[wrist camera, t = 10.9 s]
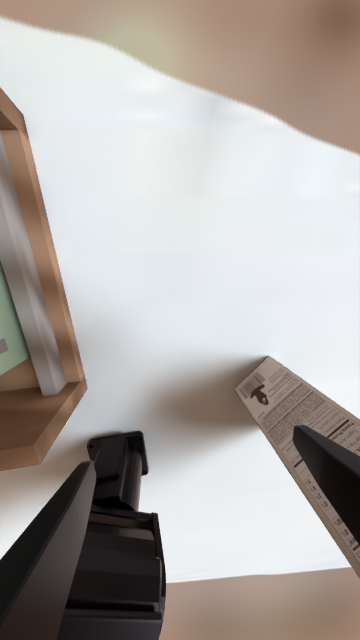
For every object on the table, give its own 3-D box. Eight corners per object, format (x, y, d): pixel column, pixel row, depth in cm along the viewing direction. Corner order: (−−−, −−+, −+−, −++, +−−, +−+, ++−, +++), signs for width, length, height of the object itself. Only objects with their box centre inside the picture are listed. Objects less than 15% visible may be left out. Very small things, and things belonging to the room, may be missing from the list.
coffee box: (308, 394, 23) (607, 627, 8) (273, 425, 24) (486, 700, 8) (268, 353, 21) (580, 570, 5) (230, 389, 22) (415, 677, 6)
